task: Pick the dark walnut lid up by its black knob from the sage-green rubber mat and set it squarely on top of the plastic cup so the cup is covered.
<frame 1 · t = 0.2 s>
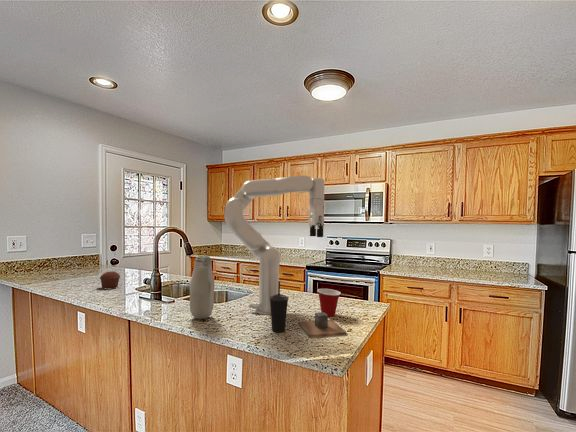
hand: (316, 236, 150), 36 cm above the countertop, tool pointing down, fingers open, 9 cm apart
muffin: (109, 287, 191), on the countertop
drinking cup: (278, 333, 117), on the countertop
gray bottle: (201, 318, 133), on the countertop
lid: (321, 329, 119), point 1 cm above the countertop, touching mat
plastic cup: (328, 317, 138), on the countertop
mat: (321, 331, 119), on the countertop
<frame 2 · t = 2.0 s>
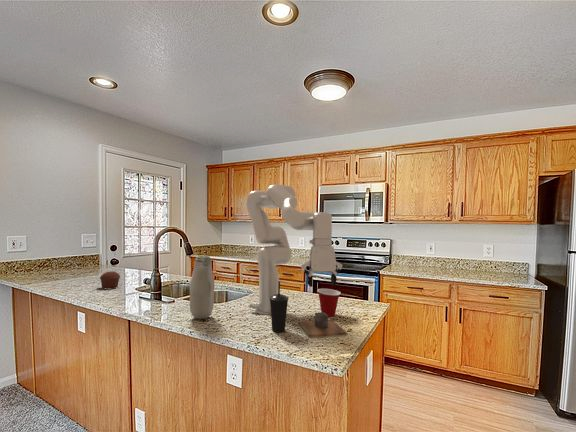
hand: (321, 285, 119), 18 cm above the countertop, tool pointing down, fingers open, 9 cm apart
nothing on the countertop moved.
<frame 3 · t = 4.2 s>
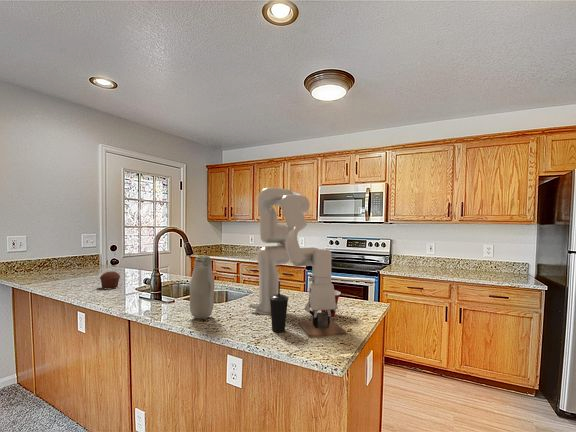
hand: (321, 325, 119), 2 cm above the countertop, tool pointing down, fingers closed on lid, 4 cm apart
lid: (321, 329, 119), point 1 cm above the countertop, touching gripper, mat
everything else where it was.
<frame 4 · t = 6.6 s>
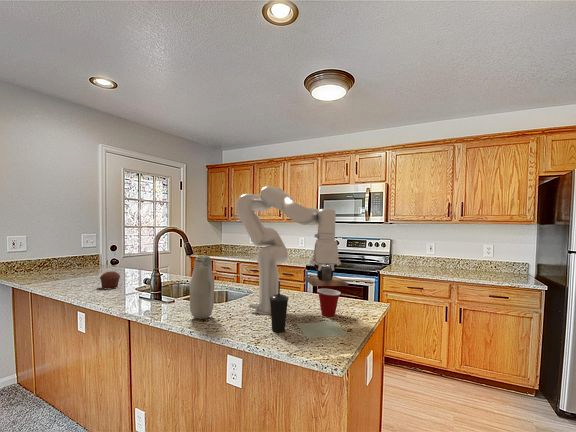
hand: (324, 278, 129), 19 cm above the countertop, tool pointing down, fingers closed on lid, 4 cm apart
lid: (324, 282, 129), point 18 cm above the countertop, touching gripper
everything else where it was.
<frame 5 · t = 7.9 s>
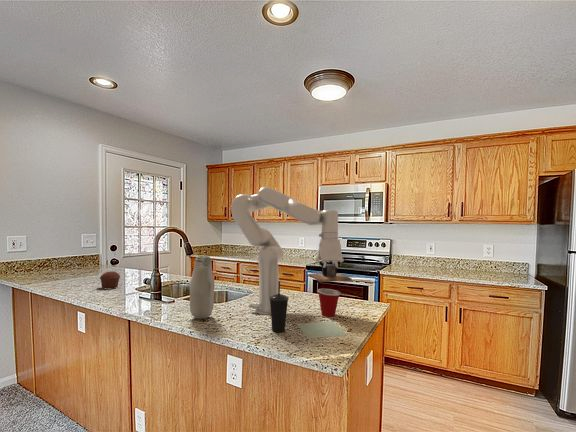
hand: (329, 275, 138), 19 cm above the countertop, tool pointing down, fingers closed on lid, 4 cm apart
lid: (329, 278, 138), point 18 cm above the countertop, touching gripper
everything else where it was.
when the fingers open (15 cm above the countertop, at t = 9.1 s): lid drops 1 cm, resting on plastic cup.
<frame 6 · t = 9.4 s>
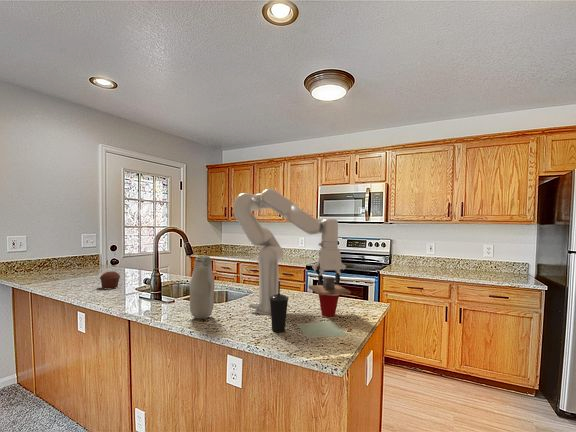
hand: (329, 283, 138), 15 cm above the countertop, tool pointing down, fingers open, 7 cm apart
lid: (328, 290, 138), point 12 cm above the countertop, touching plastic cup
plastic cup: (328, 317, 137), on the countertop, touching lid
everything else where it was.
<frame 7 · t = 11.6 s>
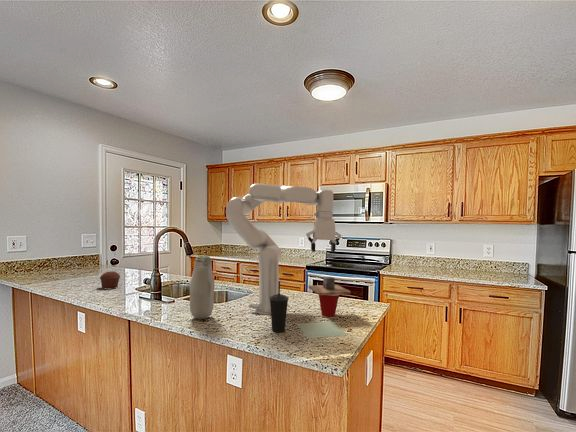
hand: (323, 251, 141), 30 cm above the countertop, tool pointing down, fingers open, 9 cm apart
nothing on the countertop moved.
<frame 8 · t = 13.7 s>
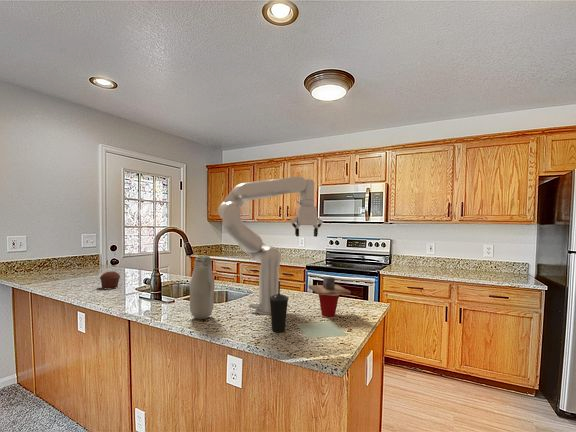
hand: (306, 236, 154), 36 cm above the countertop, tool pointing down, fingers open, 9 cm apart
nothing on the countertop moved.
at the end: lid 0.1 cm off-centre on the plastic cup, point 12.2 cm above the plastic cup's base; lid tilted 1°; plastic cup tilted 0° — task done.
